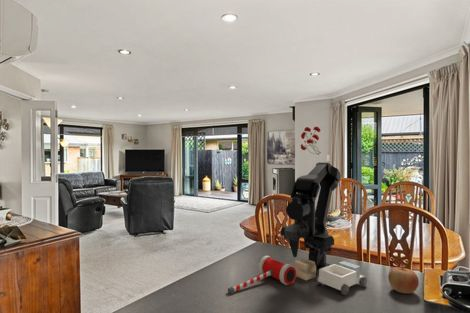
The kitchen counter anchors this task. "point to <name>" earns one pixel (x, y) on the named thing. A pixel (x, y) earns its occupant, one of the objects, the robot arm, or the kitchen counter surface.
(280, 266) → the toy hammer
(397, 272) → the apple
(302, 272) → the cream wooden cube
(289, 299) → the kitchen counter surface
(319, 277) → the toy truck
